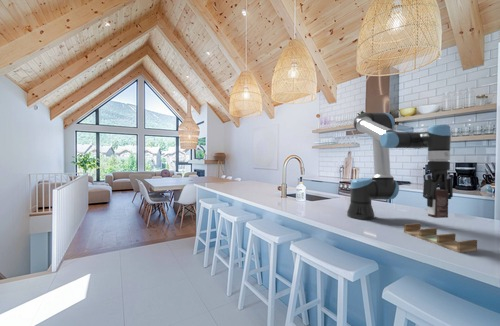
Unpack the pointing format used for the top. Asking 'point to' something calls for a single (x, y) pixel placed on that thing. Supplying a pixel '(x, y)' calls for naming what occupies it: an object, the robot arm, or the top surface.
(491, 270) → the top surface
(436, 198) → the box
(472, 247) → the wooden stepped piece
